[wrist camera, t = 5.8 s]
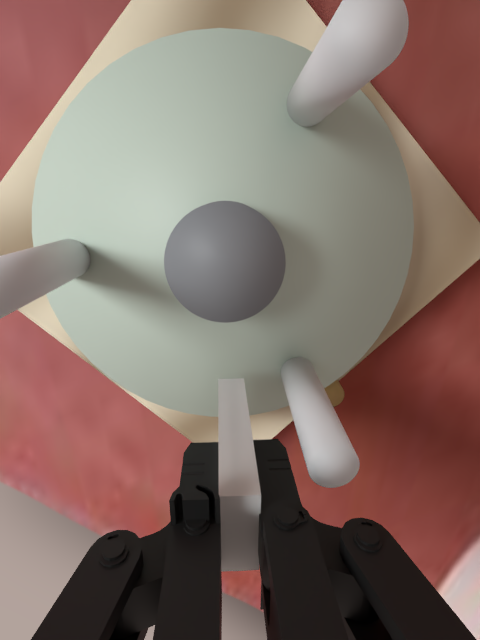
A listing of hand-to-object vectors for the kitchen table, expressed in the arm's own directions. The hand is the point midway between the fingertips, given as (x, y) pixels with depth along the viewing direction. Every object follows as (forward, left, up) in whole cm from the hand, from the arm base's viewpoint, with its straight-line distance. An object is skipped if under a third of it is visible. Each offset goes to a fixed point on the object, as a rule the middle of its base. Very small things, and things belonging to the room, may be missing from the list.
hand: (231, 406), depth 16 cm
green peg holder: (-5, +5, -3) cm, 7 cm away
